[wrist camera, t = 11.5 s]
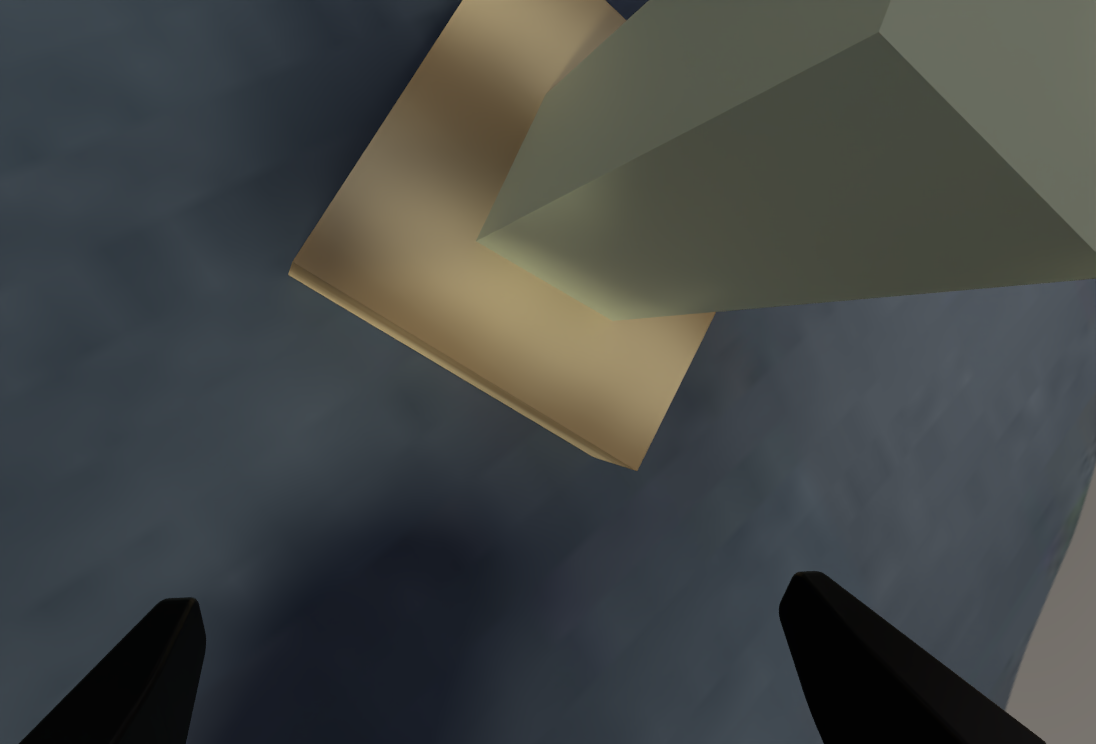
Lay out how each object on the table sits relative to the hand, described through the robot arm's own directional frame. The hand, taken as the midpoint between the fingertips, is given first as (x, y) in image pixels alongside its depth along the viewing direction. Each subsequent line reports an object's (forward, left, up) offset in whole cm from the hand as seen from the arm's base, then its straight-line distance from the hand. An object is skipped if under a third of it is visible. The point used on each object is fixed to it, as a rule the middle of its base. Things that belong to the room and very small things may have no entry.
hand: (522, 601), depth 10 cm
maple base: (+10, 0, -12) cm, 15 cm away
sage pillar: (+10, 0, -9) cm, 13 cm away
